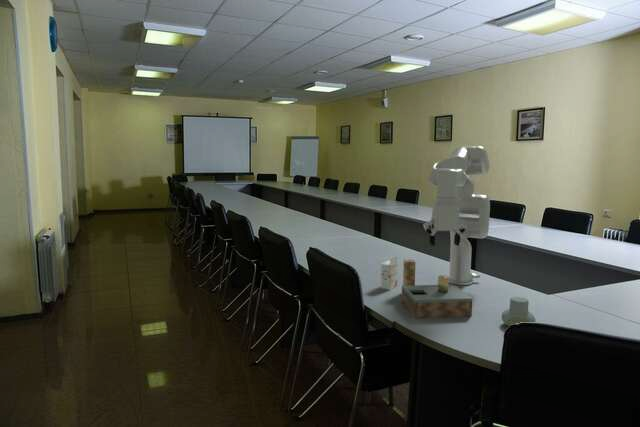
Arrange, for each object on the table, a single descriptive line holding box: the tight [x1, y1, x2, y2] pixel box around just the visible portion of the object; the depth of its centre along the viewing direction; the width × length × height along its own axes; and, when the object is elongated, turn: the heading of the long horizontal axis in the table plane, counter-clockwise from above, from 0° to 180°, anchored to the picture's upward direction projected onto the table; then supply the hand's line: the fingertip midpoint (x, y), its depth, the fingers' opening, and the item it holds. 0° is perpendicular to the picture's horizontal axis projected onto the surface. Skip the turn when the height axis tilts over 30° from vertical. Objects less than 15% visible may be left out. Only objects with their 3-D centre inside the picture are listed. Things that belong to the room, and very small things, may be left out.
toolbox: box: [401, 288, 473, 319], centre depth 170 cm, size 22×18×6 cm
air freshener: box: [501, 296, 536, 327], centre depth 152 cm, size 11×8×10 cm
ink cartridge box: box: [380, 255, 399, 291], centre depth 198 cm, size 9×5×15 cm, turn 148°
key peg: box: [402, 259, 416, 286], centre depth 187 cm, size 4×4×15 cm
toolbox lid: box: [401, 275, 473, 303], centre depth 169 cm, size 22×18×7 cm
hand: (444, 245), depth 167 cm, fingers open, 9 cm apart
